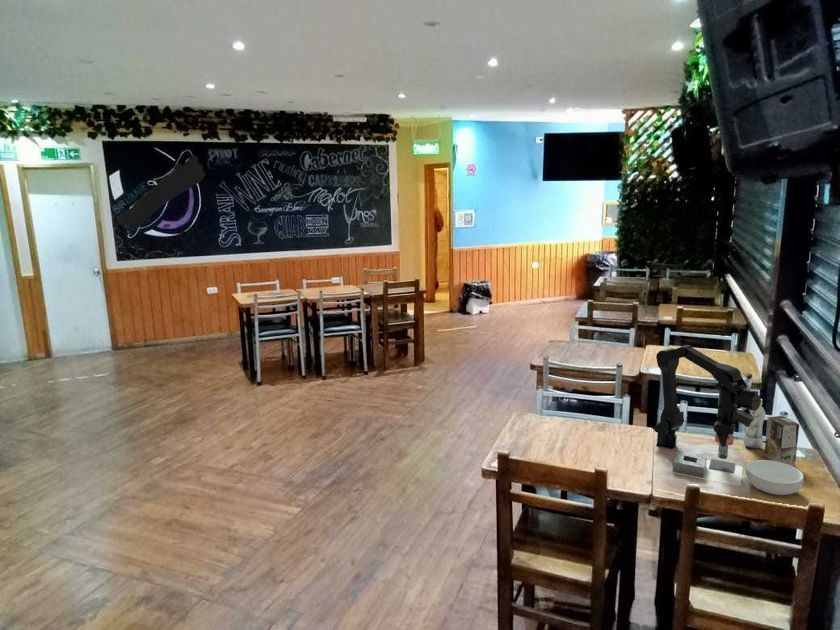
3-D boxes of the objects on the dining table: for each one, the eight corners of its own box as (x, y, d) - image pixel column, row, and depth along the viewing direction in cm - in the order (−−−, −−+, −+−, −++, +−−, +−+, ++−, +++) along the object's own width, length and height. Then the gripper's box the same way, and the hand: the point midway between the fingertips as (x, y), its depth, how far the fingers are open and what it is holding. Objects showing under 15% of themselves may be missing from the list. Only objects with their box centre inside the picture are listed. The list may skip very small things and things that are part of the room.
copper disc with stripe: (731, 462, 209) (733, 439, 208) (712, 458, 212) (714, 435, 211) (732, 455, 214) (734, 433, 213) (714, 452, 218) (716, 430, 216)
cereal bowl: (741, 475, 209) (743, 456, 207) (796, 482, 202) (798, 463, 201) (747, 497, 193) (749, 477, 192) (806, 506, 187) (809, 486, 185)
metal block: (672, 472, 211) (673, 461, 210) (676, 461, 219) (677, 451, 218) (703, 478, 206) (704, 467, 205) (706, 466, 214) (706, 456, 213)
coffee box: (796, 465, 214) (800, 424, 211) (779, 466, 214) (783, 425, 211) (779, 455, 223) (783, 415, 220) (763, 456, 223) (767, 416, 220)
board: (673, 474, 210) (674, 472, 210) (680, 456, 225) (680, 454, 224) (740, 487, 200) (740, 486, 200) (742, 467, 214) (742, 466, 214)
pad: (708, 468, 213) (709, 467, 213) (711, 460, 220) (711, 459, 219) (733, 473, 209) (733, 472, 209) (735, 464, 215) (735, 463, 215)
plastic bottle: (765, 450, 227) (770, 401, 223) (748, 450, 227) (752, 402, 224) (756, 443, 234) (761, 396, 230) (739, 444, 234) (743, 396, 230)
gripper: (751, 414, 197) (747, 457, 201) (753, 398, 213) (750, 437, 216) (715, 409, 203) (711, 451, 206) (719, 393, 219) (716, 432, 222)
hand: (723, 442), depth 212 cm, fingers closed on copper disc with stripe, 6 cm apart
